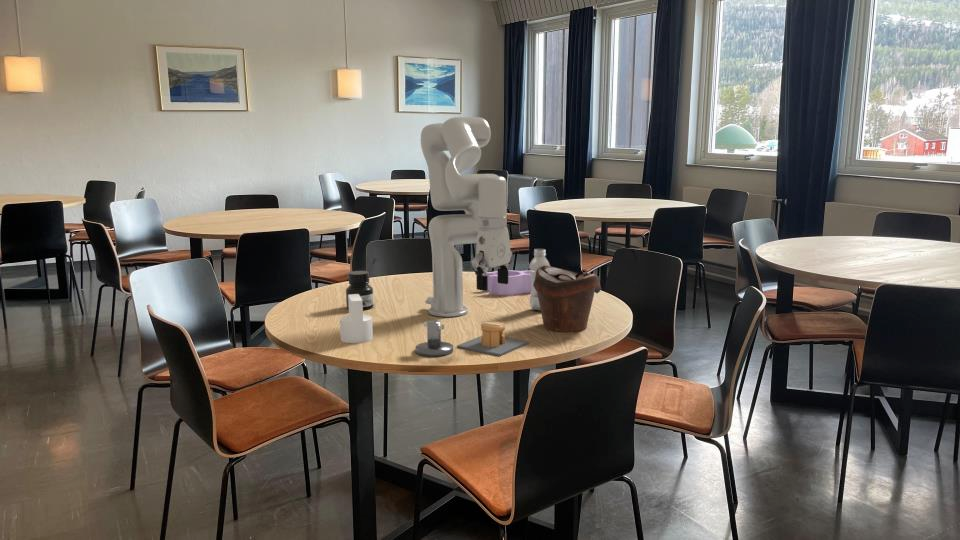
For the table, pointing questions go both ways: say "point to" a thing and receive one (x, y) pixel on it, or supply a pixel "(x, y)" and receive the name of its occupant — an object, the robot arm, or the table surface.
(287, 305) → the table surface
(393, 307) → the table surface
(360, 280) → the ink bottle
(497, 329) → the orange ellipsoid with prongs
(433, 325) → the grey post on disc
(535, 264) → the plastic bottle
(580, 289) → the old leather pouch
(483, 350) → the mat
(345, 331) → the cylinder with rectangular tab
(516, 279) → the clip
